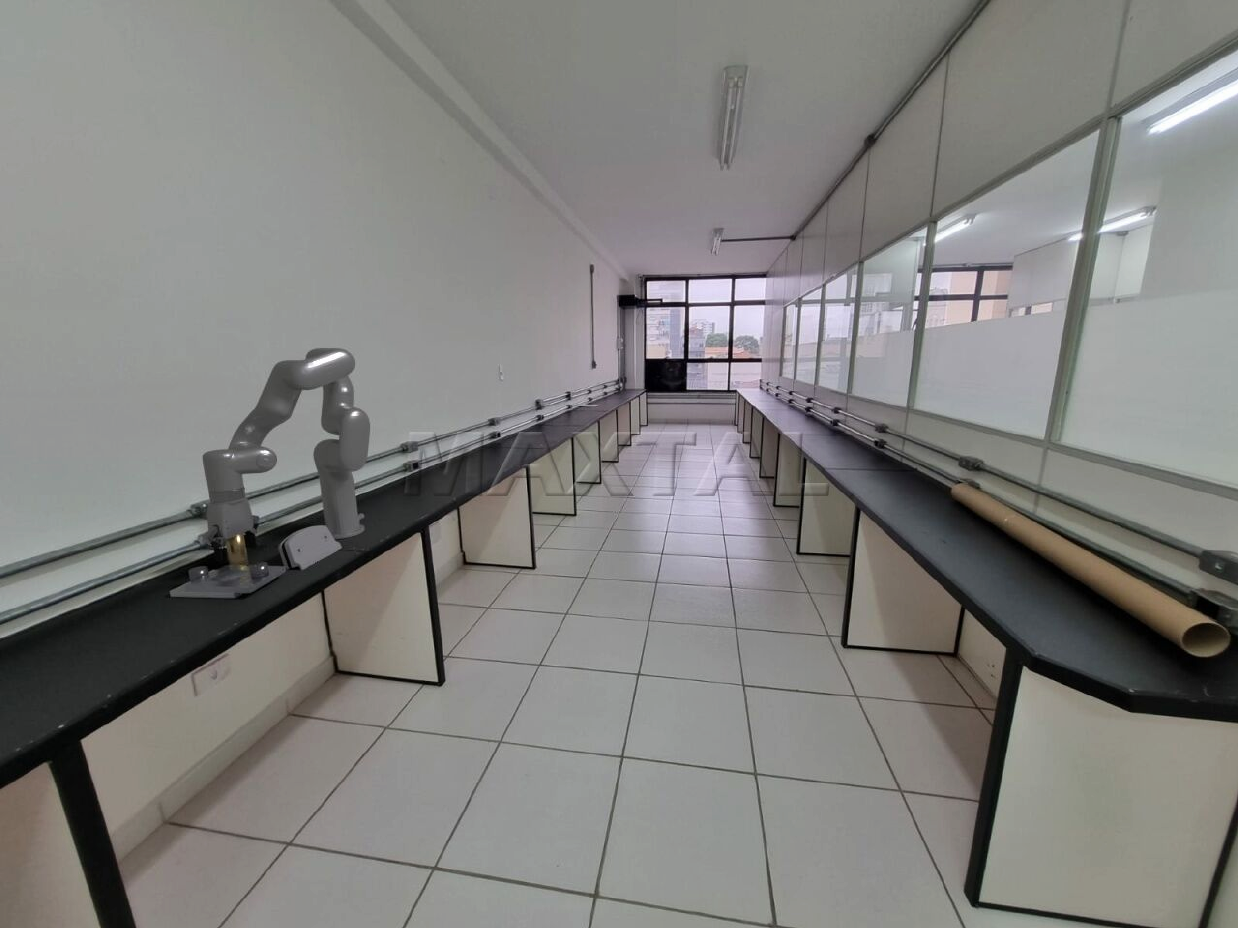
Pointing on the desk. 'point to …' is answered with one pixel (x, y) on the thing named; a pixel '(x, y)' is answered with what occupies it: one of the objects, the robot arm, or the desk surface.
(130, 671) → the desk surface
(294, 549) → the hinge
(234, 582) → the knobbed base plate
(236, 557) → the pin
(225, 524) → the robot arm
